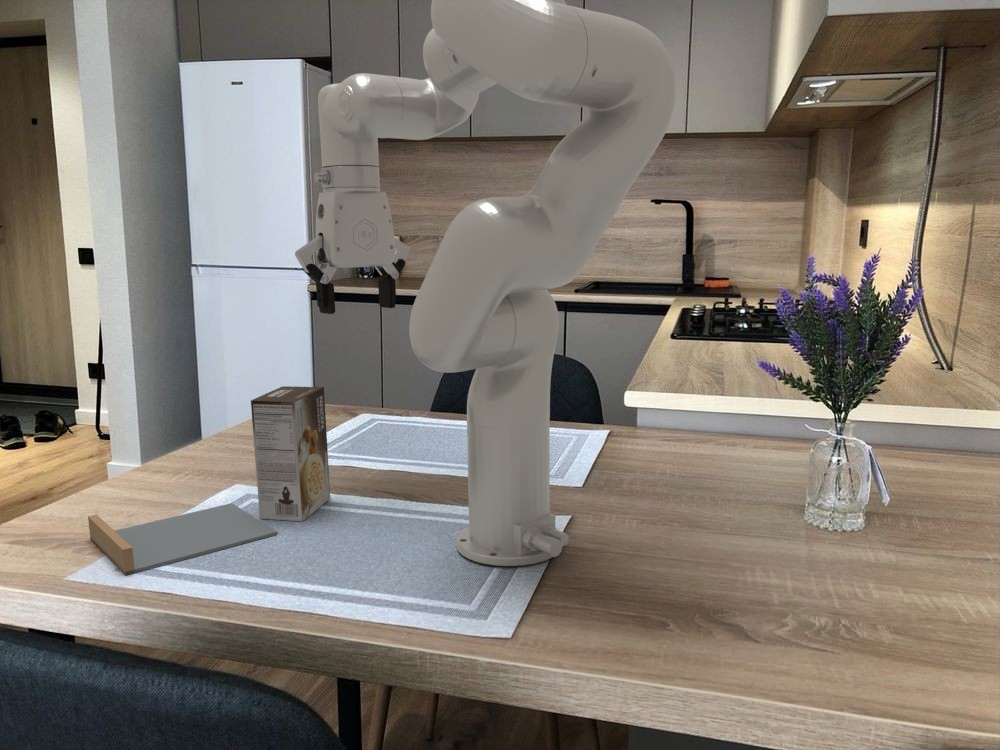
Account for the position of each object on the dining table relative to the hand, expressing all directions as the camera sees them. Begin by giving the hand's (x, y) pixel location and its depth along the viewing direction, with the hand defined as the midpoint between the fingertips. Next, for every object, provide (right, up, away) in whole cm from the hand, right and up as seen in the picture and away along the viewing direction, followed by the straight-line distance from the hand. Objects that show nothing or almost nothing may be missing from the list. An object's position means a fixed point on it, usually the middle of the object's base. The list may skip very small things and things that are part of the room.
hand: (358, 310), depth 115 cm
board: (-19, -29, -12) cm, 37 cm away
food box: (-8, -27, -2) cm, 28 cm away
